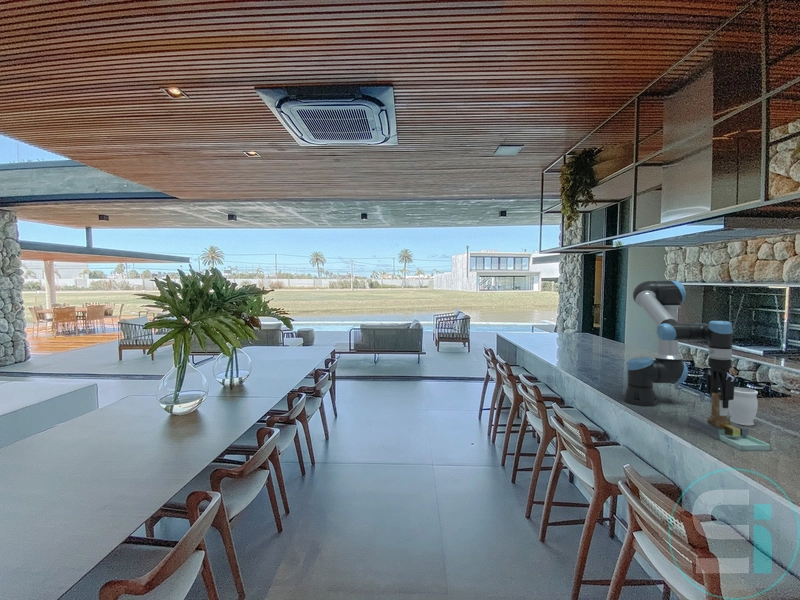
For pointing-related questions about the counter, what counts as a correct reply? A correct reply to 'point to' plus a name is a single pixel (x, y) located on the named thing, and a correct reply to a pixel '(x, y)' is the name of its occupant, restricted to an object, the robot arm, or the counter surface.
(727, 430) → the yellow sponge cube
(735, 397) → the jar
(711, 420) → the stepped wooden block
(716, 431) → the slot board
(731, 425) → the chip
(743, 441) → the tray
